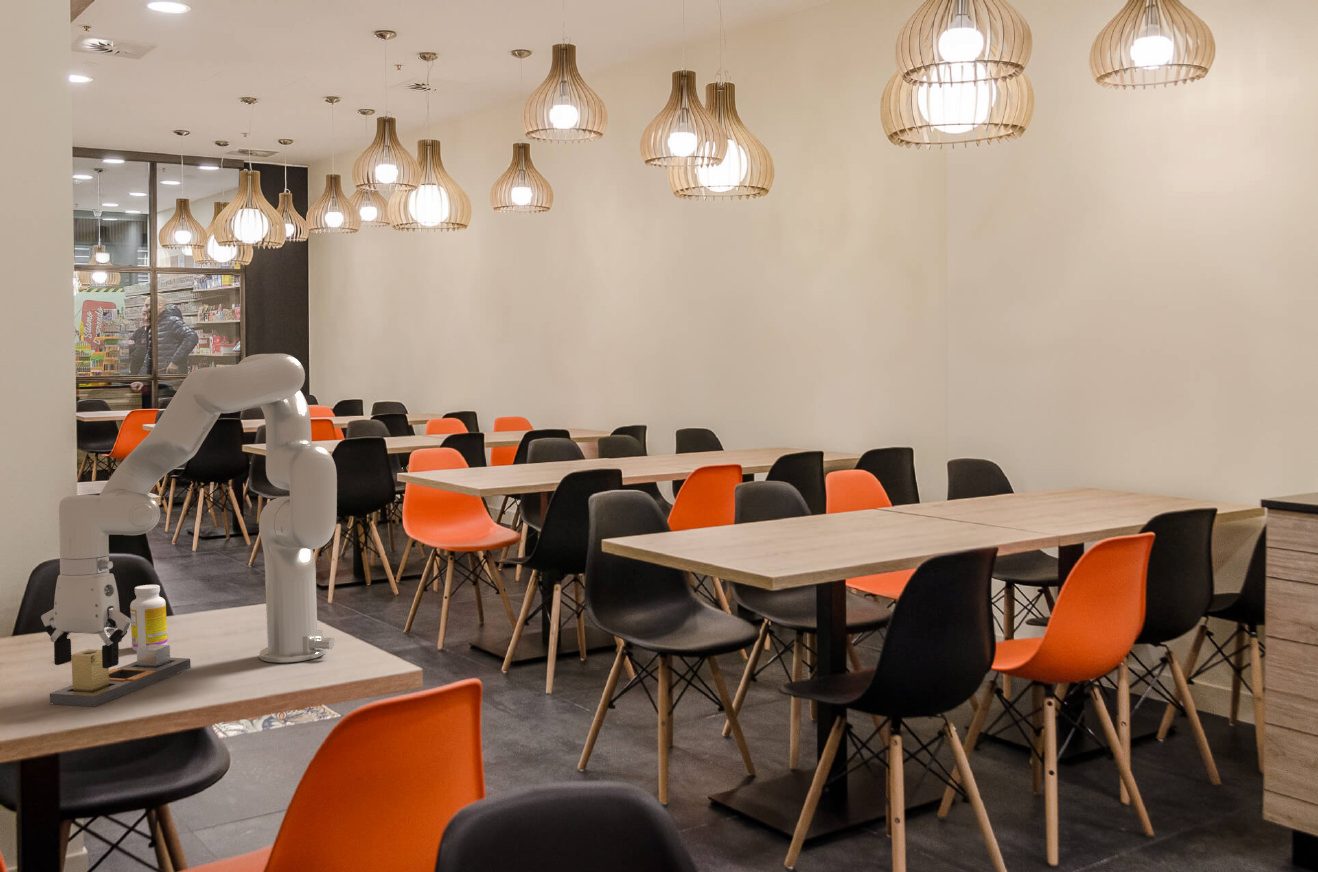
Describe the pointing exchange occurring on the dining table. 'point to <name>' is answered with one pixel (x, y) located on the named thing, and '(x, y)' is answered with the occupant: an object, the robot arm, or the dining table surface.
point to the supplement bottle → (148, 617)
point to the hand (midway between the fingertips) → (86, 664)
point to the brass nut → (89, 671)
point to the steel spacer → (153, 656)
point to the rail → (120, 683)
